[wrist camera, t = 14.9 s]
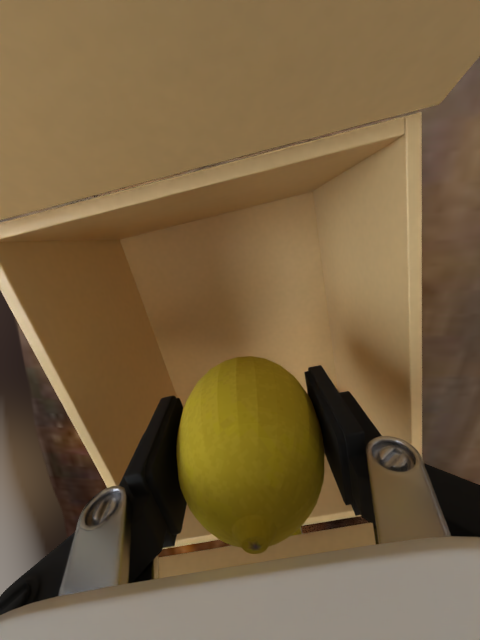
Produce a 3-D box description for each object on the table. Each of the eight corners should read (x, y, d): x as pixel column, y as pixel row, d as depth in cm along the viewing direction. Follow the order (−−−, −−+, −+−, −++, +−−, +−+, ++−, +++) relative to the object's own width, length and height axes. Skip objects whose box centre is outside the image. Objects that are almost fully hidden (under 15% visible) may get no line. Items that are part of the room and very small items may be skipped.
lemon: (316, 368, 14) (414, 531, 6) (255, 433, 15) (272, 633, 7) (234, 310, 13) (229, 422, 5) (176, 387, 14) (103, 564, 6)
